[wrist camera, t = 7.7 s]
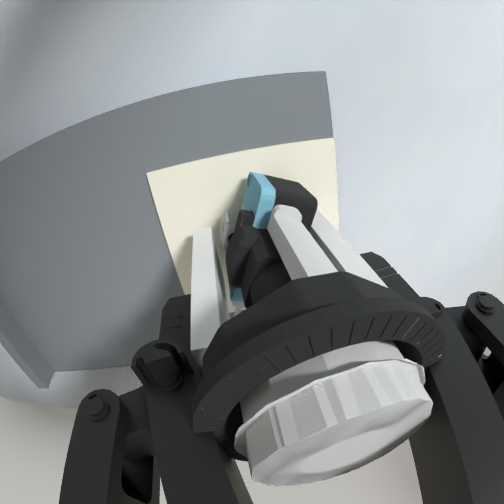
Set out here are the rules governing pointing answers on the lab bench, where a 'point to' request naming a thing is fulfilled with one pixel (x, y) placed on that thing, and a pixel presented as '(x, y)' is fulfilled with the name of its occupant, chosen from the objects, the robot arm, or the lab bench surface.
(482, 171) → the lab bench surface
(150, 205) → the grey lipped board
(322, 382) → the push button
